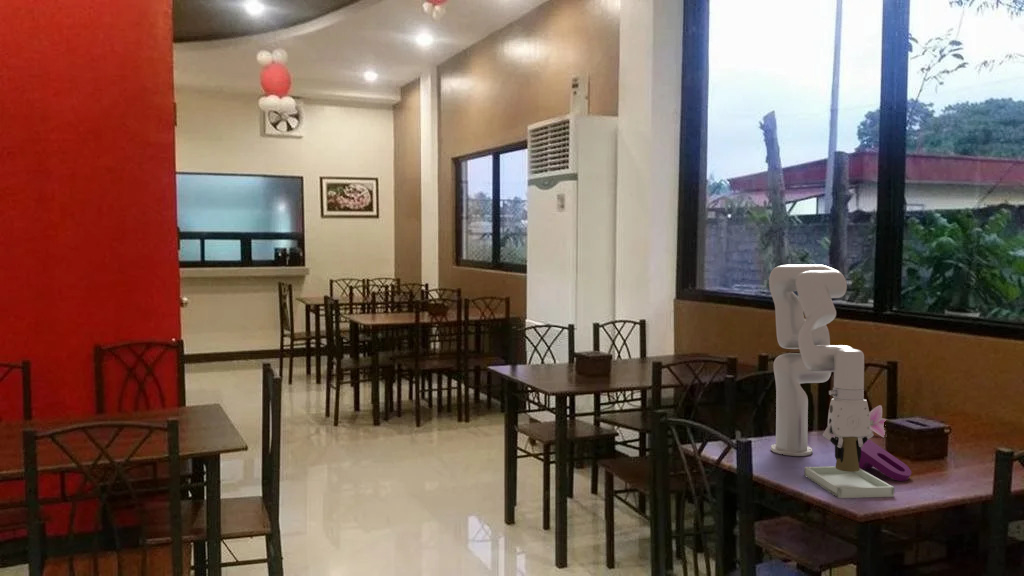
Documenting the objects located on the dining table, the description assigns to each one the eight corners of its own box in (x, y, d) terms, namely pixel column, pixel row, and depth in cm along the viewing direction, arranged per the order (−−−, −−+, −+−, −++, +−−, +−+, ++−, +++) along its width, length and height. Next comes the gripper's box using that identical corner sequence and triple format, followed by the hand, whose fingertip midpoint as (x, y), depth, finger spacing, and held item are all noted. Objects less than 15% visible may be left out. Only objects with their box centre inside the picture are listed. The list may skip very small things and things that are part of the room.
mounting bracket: (903, 495, 218) (849, 456, 231) (917, 472, 215) (861, 434, 227) (887, 502, 212) (833, 462, 225) (901, 478, 209) (845, 438, 222)
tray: (804, 475, 218) (804, 467, 218) (855, 474, 218) (855, 465, 218) (838, 498, 198) (838, 488, 198) (894, 496, 199) (894, 487, 198)
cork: (855, 465, 210) (855, 426, 210) (862, 472, 204) (863, 431, 204) (832, 465, 211) (832, 426, 211) (839, 471, 205) (840, 431, 205)
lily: (845, 436, 269) (850, 415, 264) (857, 418, 276) (863, 398, 271) (880, 451, 262) (886, 430, 257) (891, 432, 269) (898, 412, 264)
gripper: (825, 397, 203) (824, 465, 203) (885, 396, 204) (884, 464, 204) (812, 392, 210) (811, 458, 211) (870, 391, 211) (870, 456, 212)
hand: (847, 460), depth 208 cm, fingers closed on cork, 3 cm apart
